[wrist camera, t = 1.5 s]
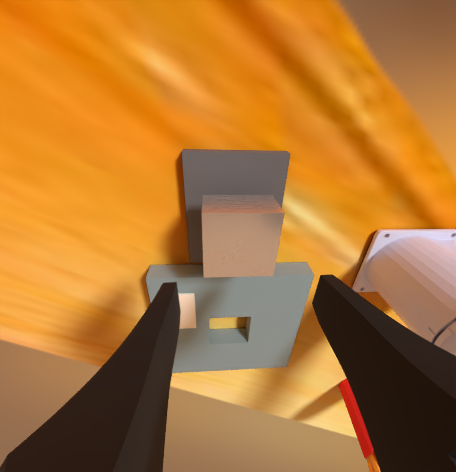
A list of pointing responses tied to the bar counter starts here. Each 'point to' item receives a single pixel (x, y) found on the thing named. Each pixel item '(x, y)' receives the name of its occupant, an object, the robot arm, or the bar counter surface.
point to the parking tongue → (228, 182)
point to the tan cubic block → (240, 235)
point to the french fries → (359, 426)
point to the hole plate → (235, 315)
